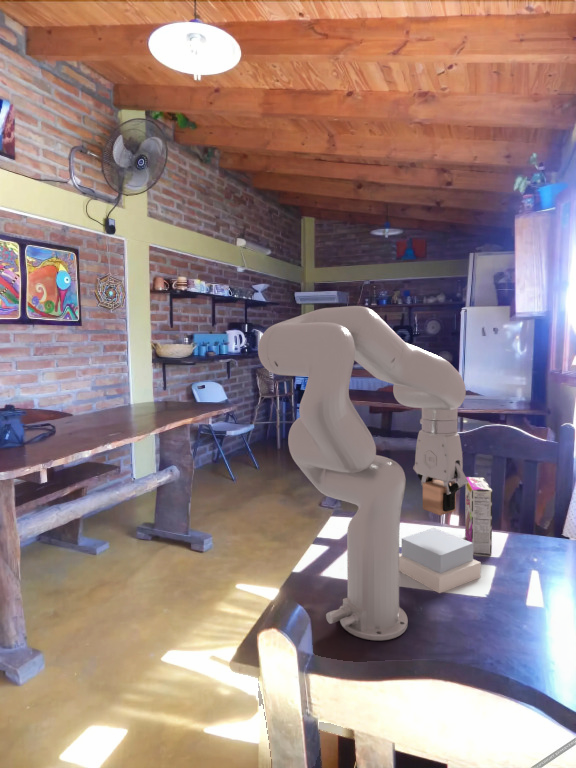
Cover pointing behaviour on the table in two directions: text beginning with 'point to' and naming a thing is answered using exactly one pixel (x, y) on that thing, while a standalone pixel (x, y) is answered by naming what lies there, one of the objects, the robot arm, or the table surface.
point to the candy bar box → (478, 515)
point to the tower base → (438, 580)
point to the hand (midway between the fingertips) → (438, 505)
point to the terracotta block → (434, 497)
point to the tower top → (437, 550)
